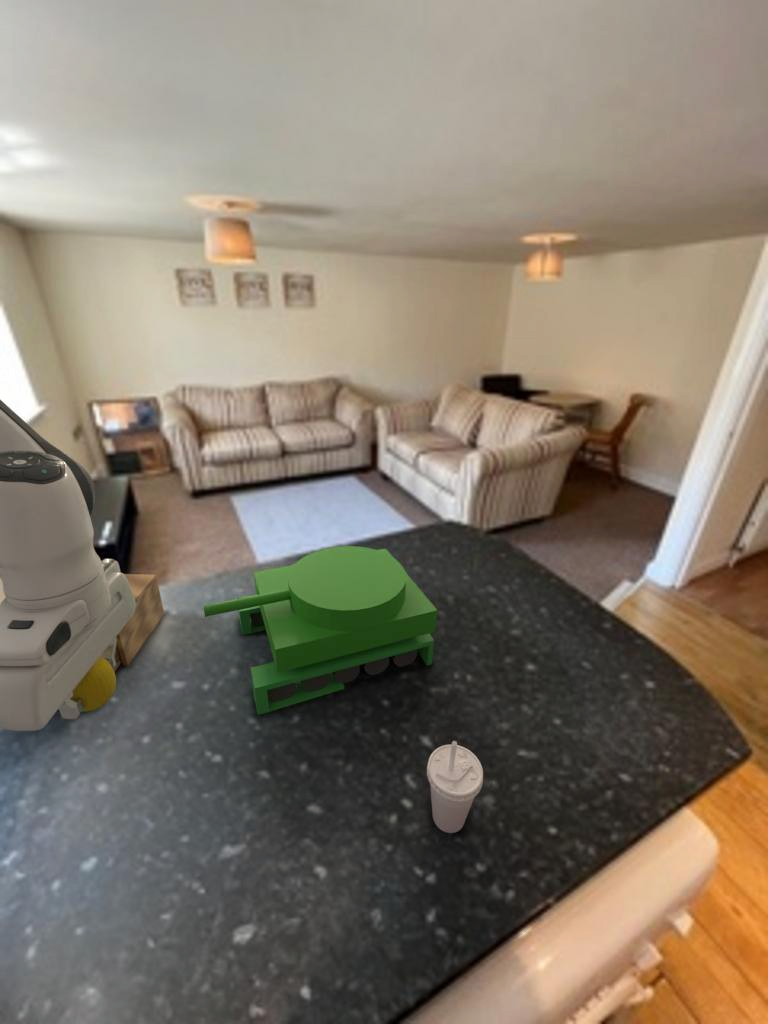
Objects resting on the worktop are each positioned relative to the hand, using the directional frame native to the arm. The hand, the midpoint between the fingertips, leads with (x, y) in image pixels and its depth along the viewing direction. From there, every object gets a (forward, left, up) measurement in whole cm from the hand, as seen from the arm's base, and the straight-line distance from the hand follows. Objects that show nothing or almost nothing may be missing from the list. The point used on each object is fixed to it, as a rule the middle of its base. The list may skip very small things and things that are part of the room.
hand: (91, 691), depth 55 cm
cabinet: (-13, +24, -13) cm, 30 cm away
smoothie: (+44, -7, -13) cm, 47 cm away
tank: (+24, +23, -13) cm, 36 cm away
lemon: (0, 0, -3) cm, 3 cm away
